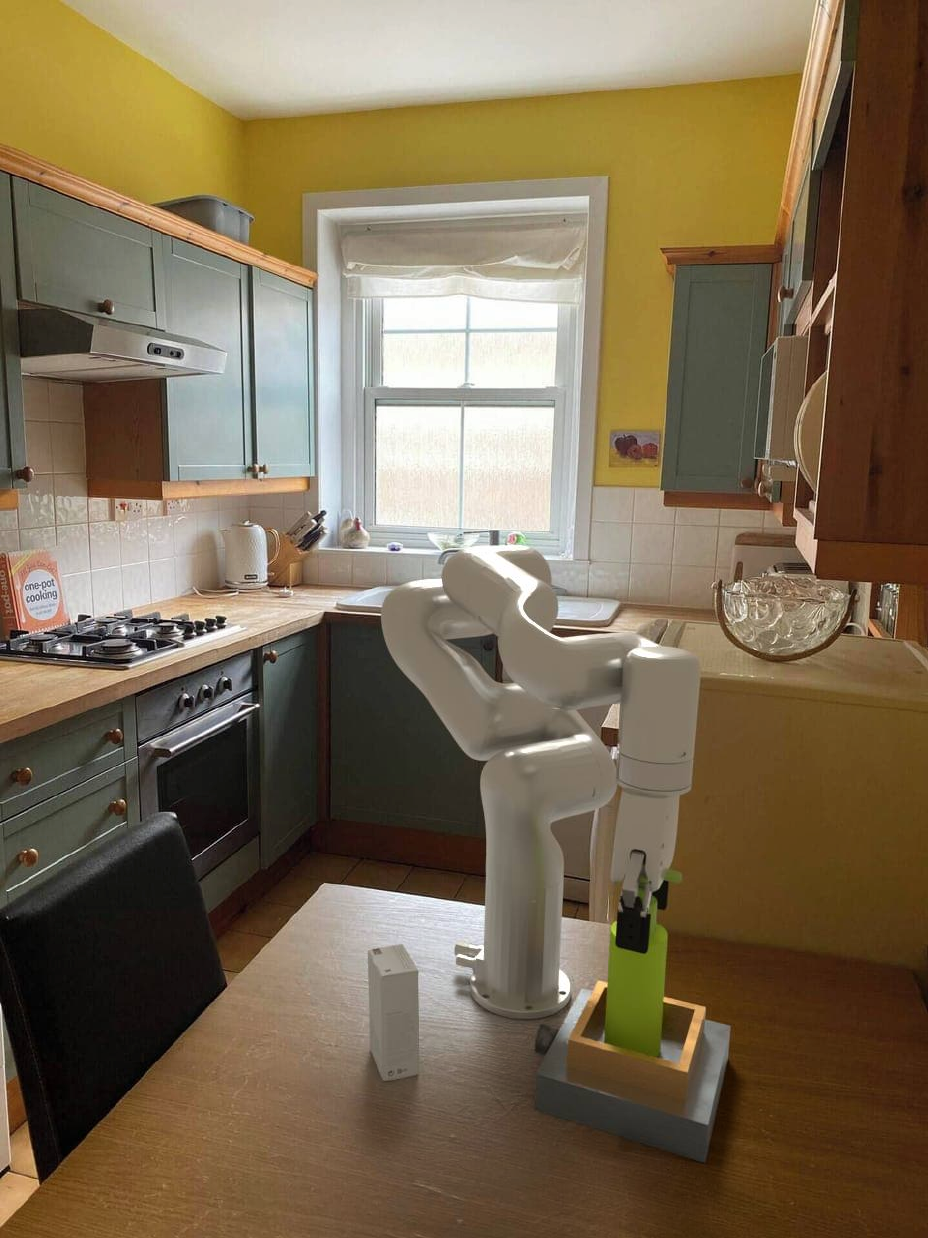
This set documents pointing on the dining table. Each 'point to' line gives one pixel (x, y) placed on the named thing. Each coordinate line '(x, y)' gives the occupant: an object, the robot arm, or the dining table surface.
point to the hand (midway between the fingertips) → (642, 927)
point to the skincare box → (393, 1012)
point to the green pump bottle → (638, 987)
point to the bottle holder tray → (635, 1076)
